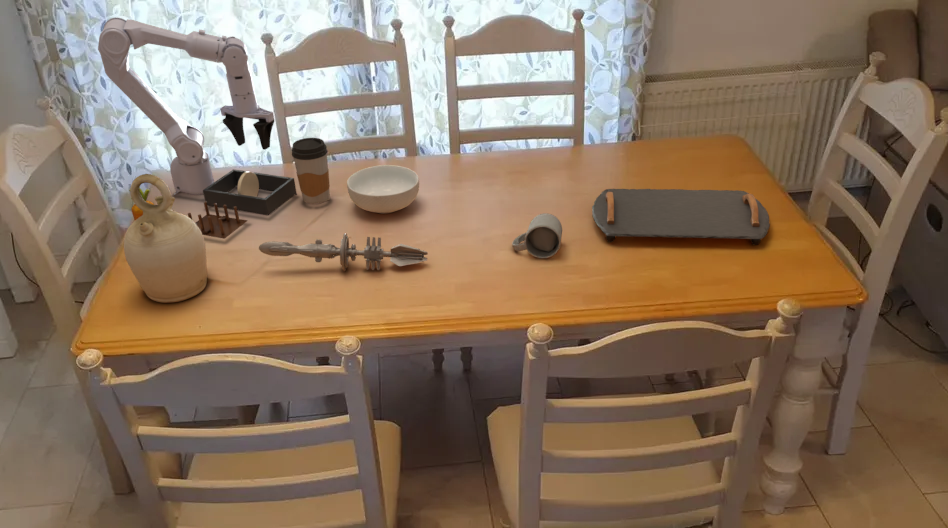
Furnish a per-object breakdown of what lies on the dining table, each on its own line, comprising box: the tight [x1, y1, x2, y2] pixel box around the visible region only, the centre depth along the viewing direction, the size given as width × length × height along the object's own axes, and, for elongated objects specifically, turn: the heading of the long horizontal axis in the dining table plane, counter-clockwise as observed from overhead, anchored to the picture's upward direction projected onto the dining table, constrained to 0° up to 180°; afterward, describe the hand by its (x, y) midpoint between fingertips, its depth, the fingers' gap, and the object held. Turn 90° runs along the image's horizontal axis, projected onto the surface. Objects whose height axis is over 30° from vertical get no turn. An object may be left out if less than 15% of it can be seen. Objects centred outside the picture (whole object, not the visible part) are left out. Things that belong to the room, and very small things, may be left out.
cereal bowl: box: [346, 164, 420, 215], centre depth 200 cm, size 17×17×7 cm
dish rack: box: [187, 200, 248, 240], centre depth 194 cm, size 11×9×5 cm
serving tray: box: [591, 188, 771, 246], centre depth 189 cm, size 39×23×6 cm, turn 84°
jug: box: [123, 173, 208, 304], centre depth 168 cm, size 15×16×25 cm
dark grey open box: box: [203, 168, 298, 216], centre depth 205 cm, size 18×13×5 cm
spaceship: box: [258, 232, 428, 272], centre depth 176 cm, size 8×35×8 cm
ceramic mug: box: [511, 212, 563, 259], centre depth 181 cm, size 11×8×8 cm
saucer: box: [236, 170, 260, 197], centre depth 203 cm, size 1×8×8 cm, turn 158°
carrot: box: [128, 188, 155, 221], centre depth 184 cm, size 5×5×15 cm
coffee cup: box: [291, 137, 331, 205], centre depth 201 cm, size 8×8×15 cm
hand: (253, 146), depth 209 cm, fingers open, 7 cm apart
